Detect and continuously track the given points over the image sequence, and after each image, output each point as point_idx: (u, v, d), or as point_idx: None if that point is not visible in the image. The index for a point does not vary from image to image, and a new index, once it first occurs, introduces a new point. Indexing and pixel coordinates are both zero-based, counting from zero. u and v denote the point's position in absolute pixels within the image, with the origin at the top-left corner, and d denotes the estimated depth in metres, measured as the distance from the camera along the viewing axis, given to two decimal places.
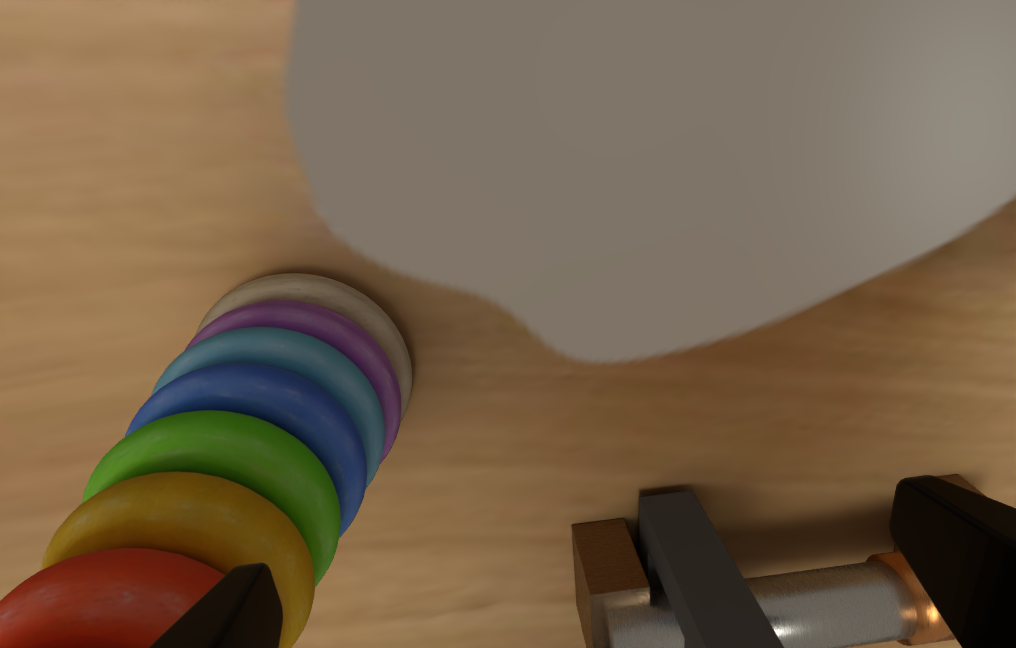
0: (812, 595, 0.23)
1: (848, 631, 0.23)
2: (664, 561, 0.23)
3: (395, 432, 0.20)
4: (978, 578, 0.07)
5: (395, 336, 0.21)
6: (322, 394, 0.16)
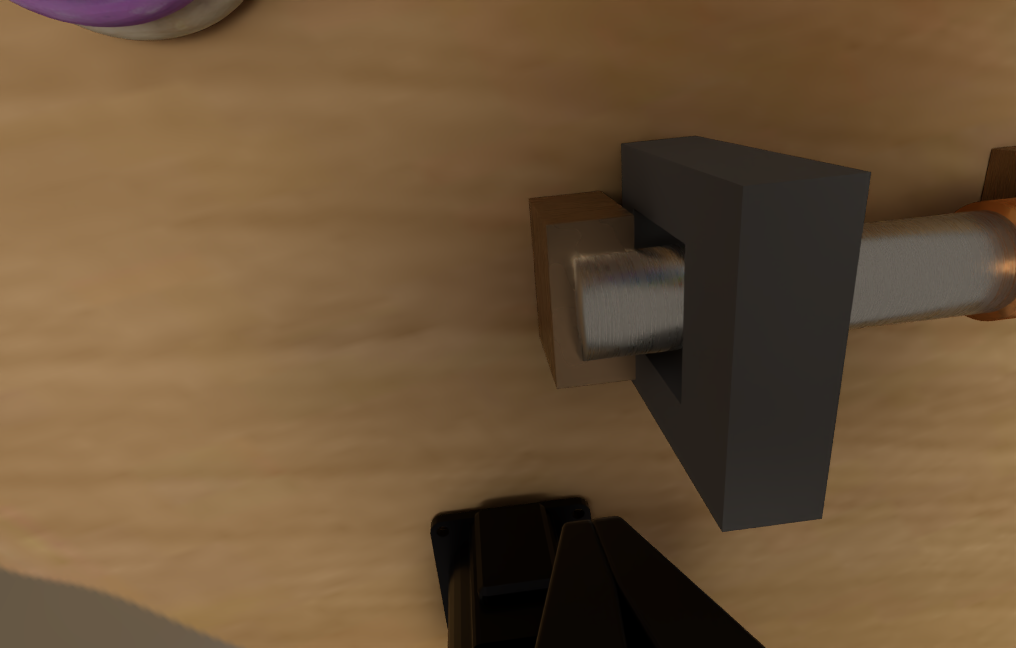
0: (873, 232, 0.16)
1: (927, 275, 0.16)
2: (655, 169, 0.15)
3: None
4: None
5: None
6: None
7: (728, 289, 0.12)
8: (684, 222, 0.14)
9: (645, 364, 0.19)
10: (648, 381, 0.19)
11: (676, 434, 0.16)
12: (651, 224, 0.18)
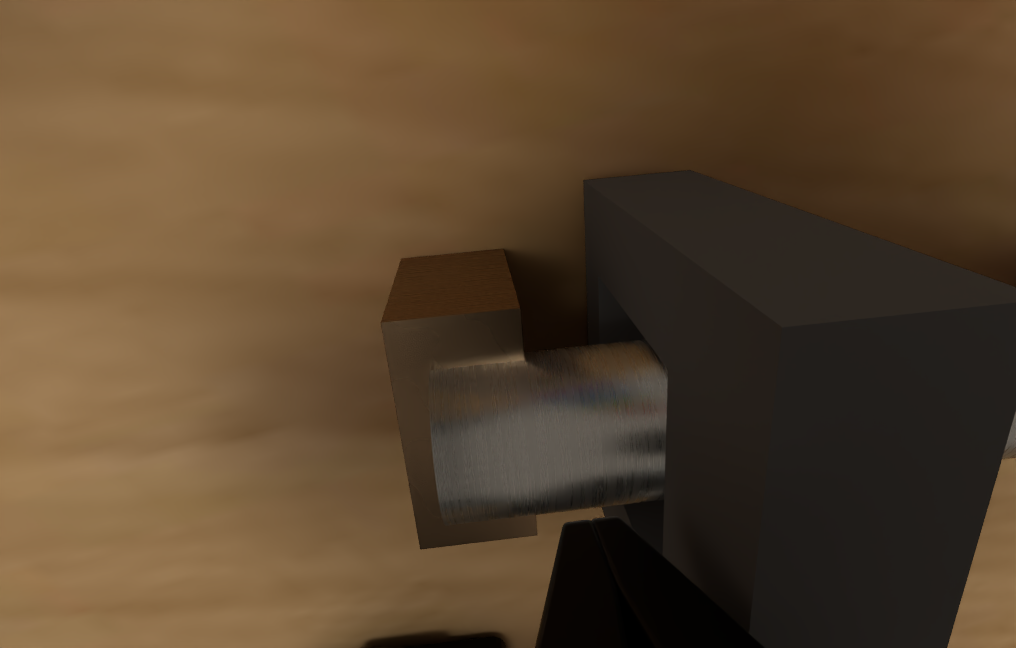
0: None
1: None
2: (625, 231, 0.10)
3: None
4: None
5: None
6: None
7: (744, 499, 0.06)
8: (667, 334, 0.08)
9: None
10: None
11: None
12: None
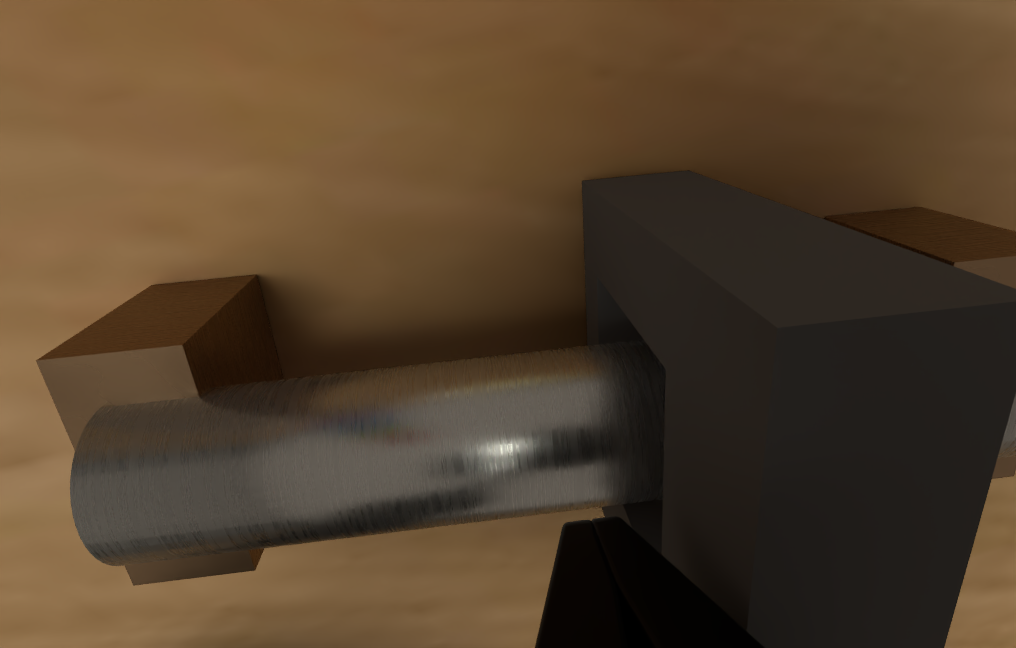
0: (569, 373, 0.10)
1: (641, 448, 0.10)
2: (623, 232, 0.10)
3: None
4: None
5: None
6: None
7: (742, 498, 0.06)
8: (665, 334, 0.08)
9: None
10: None
11: None
12: None
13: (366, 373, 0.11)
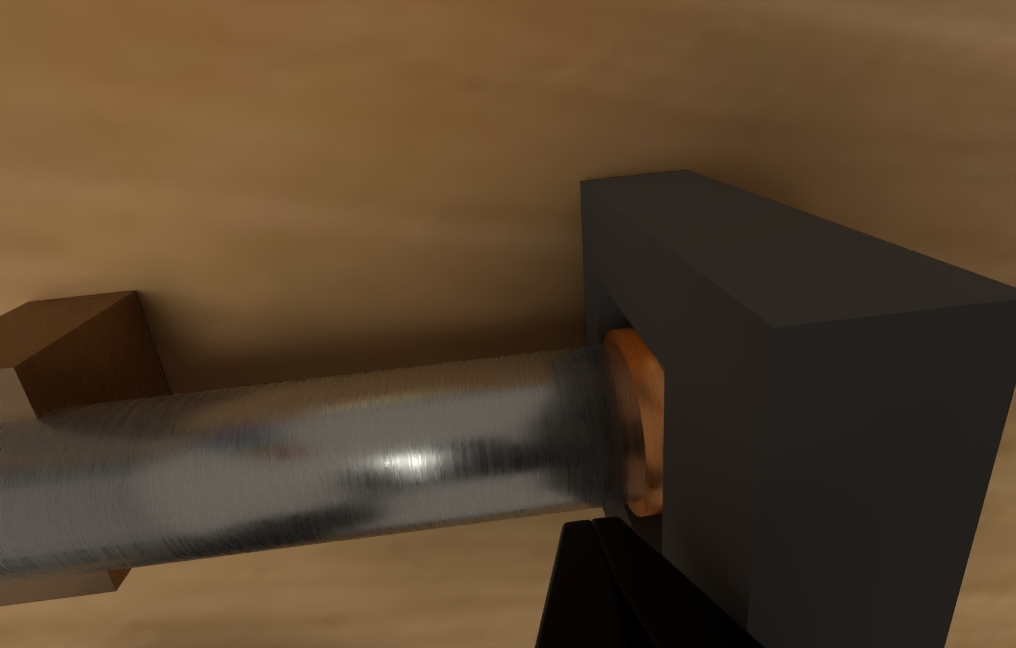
0: (409, 392, 0.10)
1: (475, 470, 0.10)
2: (621, 232, 0.10)
3: None
4: None
5: None
6: None
7: (740, 498, 0.06)
8: (663, 334, 0.08)
9: None
10: None
11: None
12: None
13: (211, 393, 0.11)
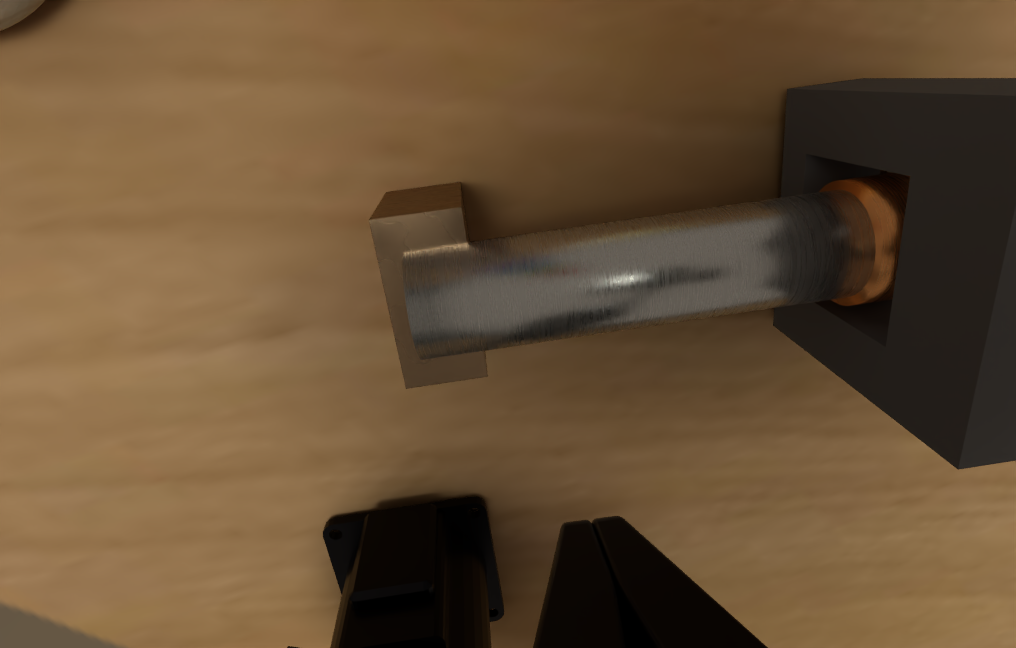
0: (714, 217, 0.15)
1: (767, 260, 0.15)
2: (855, 105, 0.15)
3: None
4: None
5: None
6: None
7: (997, 211, 0.11)
8: (911, 153, 0.13)
9: (815, 314, 0.18)
10: (820, 331, 0.18)
11: (872, 379, 0.16)
12: (822, 170, 0.18)
13: (572, 227, 0.16)
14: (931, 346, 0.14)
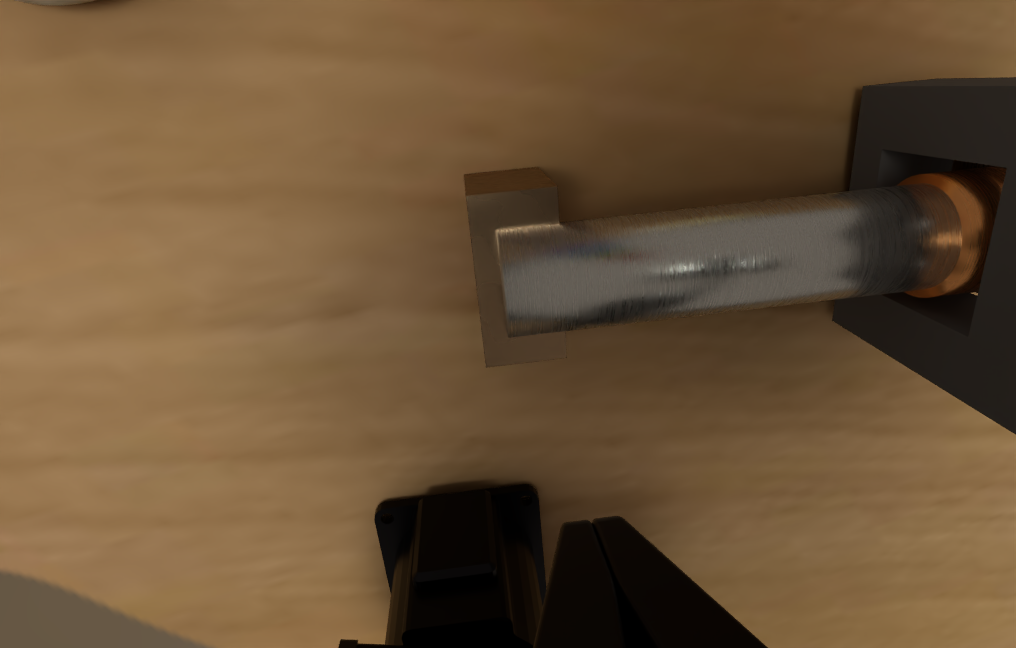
0: (804, 205, 0.16)
1: (857, 248, 0.15)
2: (945, 100, 0.15)
3: None
4: None
5: None
6: None
7: None
8: (1009, 145, 0.14)
9: (884, 307, 0.19)
10: (889, 324, 0.19)
11: (950, 369, 0.16)
12: (896, 166, 0.18)
13: (661, 211, 0.16)
14: None
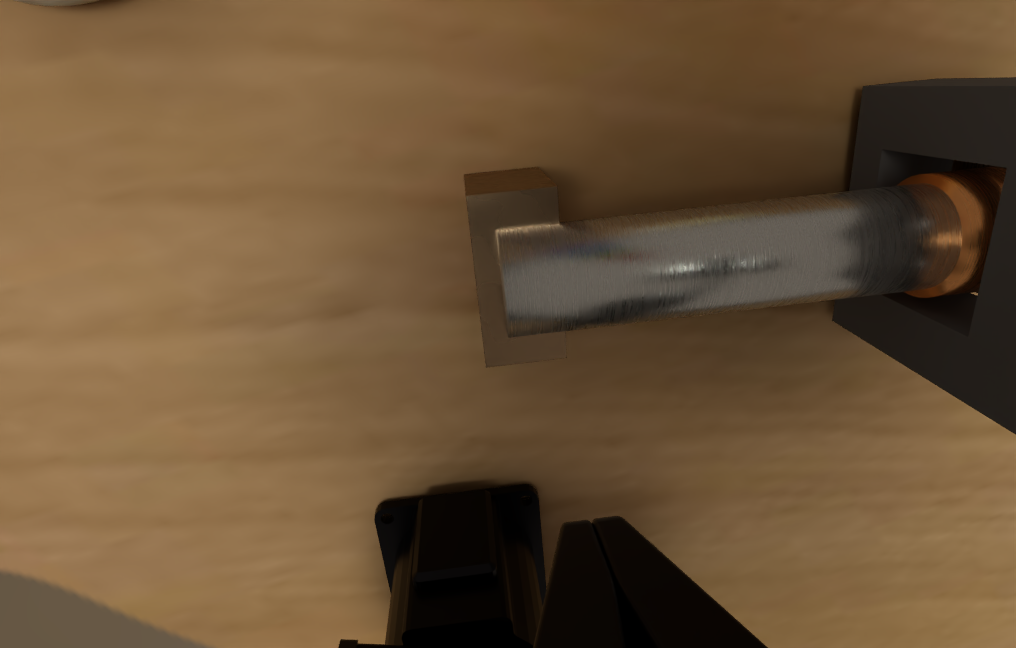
0: (804, 205, 0.16)
1: (857, 248, 0.15)
2: (945, 100, 0.15)
3: None
4: None
5: None
6: None
7: None
8: (1009, 145, 0.14)
9: (884, 308, 0.19)
10: (889, 324, 0.19)
11: (950, 369, 0.16)
12: (896, 166, 0.18)
13: (661, 211, 0.16)
14: None
